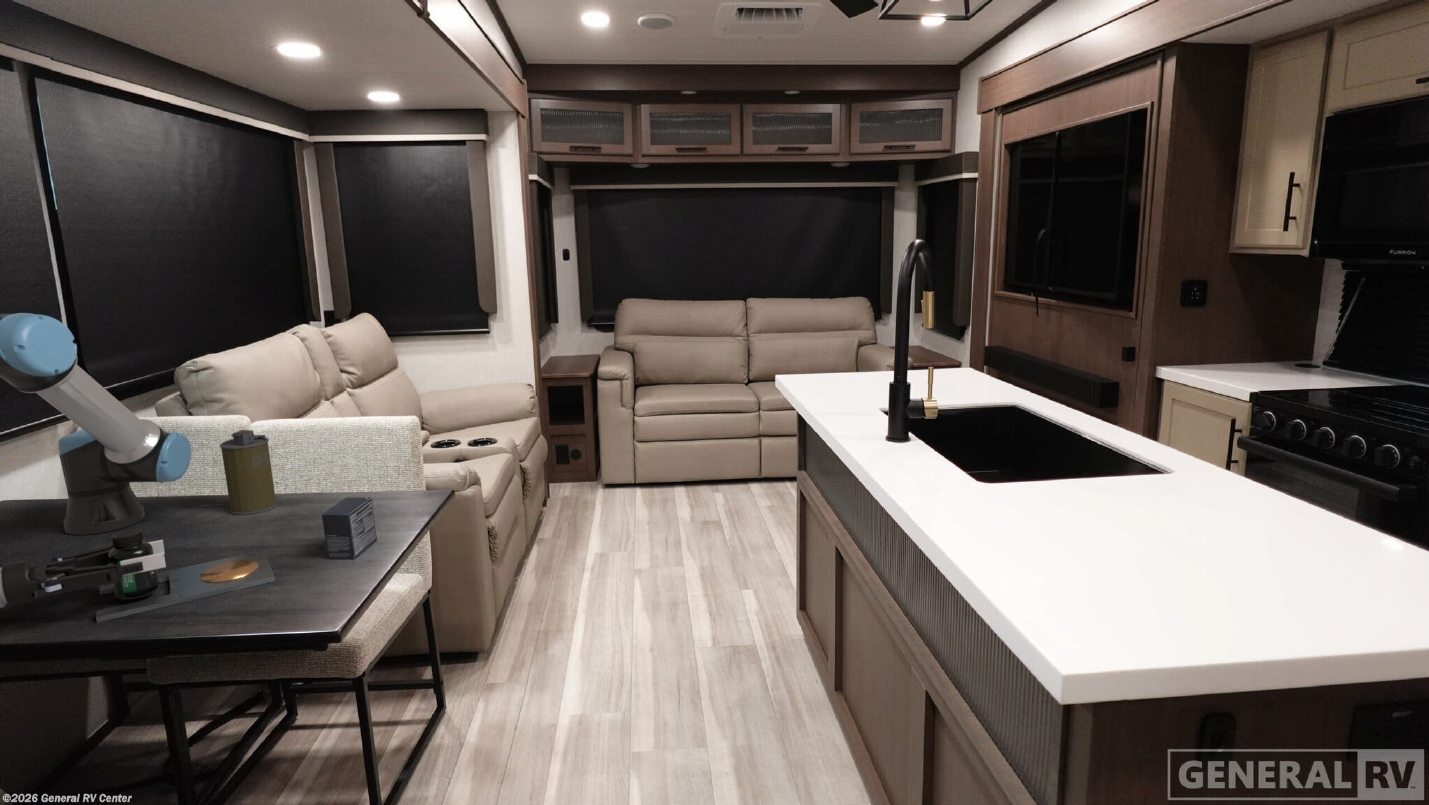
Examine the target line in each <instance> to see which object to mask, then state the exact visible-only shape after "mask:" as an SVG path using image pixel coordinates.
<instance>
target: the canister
mask: <svg viewBox="0 0 1429 805" xmlns="http://www.w3.org/2000/svg"><path fill="white" fill-rule="evenodd" d="M230 436H231V437H232V438H231V439H227V440H226V441H223V442H221V443H220V444H219V448H220V449H221V454H222V455H221V456H222V460H223V461H222V462H223V468H224V475H225V482H226V487H227V488H226V489H227V495H228V502H229V510H228V511H229V512H230V513H231V514H232V515H237V516H238V515H239V516H243V515H244V516H247V515H248V516H249V515H254V514H260V513H264V512H267V511H270V510H272V509H274V508H276V506H278V501H277V500H276V492H275V486H274V485H275V484H274V478H273V469H272V463H271V455H270V449H269V441H270V439H269V438H268V437H266V435H265V434H257V435H256V434H255V432H254V430H249V429H241V430H238V431H236V432H233V433H231V435H230Z"/></svg>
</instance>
